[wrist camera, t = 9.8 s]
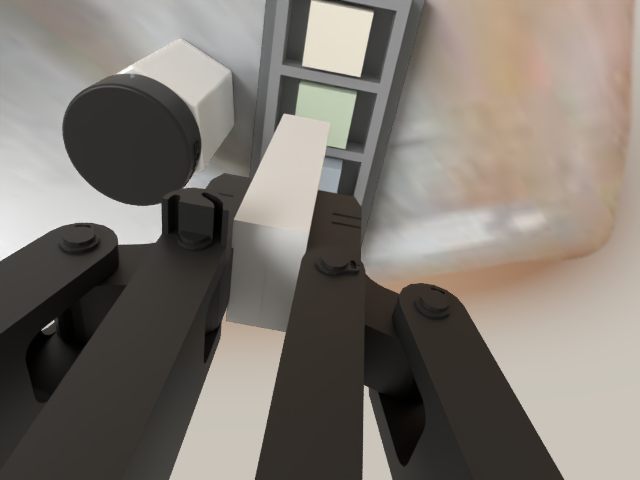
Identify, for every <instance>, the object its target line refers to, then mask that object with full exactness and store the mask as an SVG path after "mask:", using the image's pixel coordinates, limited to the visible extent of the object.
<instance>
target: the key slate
mask: <svg viewBox="0 0 640 480" xmlns="http://www.w3.org/2000/svg"><path fill="white" fill-rule="evenodd" d="M342 161H343V160H342V159H336V158H331V157H326V156H325V158H324V163H323V169H322V174H321V179H320V185H319V190H322V191H327V192H333V193H337V189H338V184H339V179H340V175H341V170H342Z"/></svg>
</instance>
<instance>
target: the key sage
mask: <svg viewBox="0 0 640 480" xmlns="http://www.w3.org/2000/svg"><path fill="white" fill-rule="evenodd" d="M356 95H357V89H352V88H347V87H341V86H336V85H331V84H326V83H321V82H316V81H311V80H305V79H302V80H301V82H300V84H299V91H298V98H297V105H296V112H295V116H299V117H304V118H310V119H315V120H320V121H325V122H330V123H331V125H330V131H329V136H328V142H327V146H332V147H337V148H343V149H345V148H346V143H347V139H348V134H349V129H350V124H351V119H352V115H353V110H354V105H355V100H356Z"/></svg>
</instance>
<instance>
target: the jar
mask: <svg viewBox="0 0 640 480" xmlns="http://www.w3.org/2000/svg"><path fill="white" fill-rule="evenodd" d="M233 127H234V106H233V86H232V72H231V71H230V70H229V69H228V68H226V67H224V66H223V65H221V64H220V63H218V62H217V61H215V60H214V59H212V58H211V57H209V56H208V55H206V54H205V53H203V52H202V51H200V50H199V49H197V48H195V47H194V46H192V45H191V44H189V43H188V42H186V41H185V40H183V39H181V38H180V39H177V40H176V41H174V42H172V43H170V44H168V45H166V46H165V47H163V48H161V49H159V50H157V51H156V52H154V53H152V54H150V55H148V56H146V57H145V58H143V59H141V60H139V61H137V62H136V63H134V64H132V65H130V66H129V67H127V68H125V69H124V70H122V71H120V72H119V73H117V74H115V75H112V76H109V77H107V78H105V79H103V80H101V81H99V82H97V83H95V84H93V85H92V86H90V87H88V88H86V89H84V90H83V91H81V92H80V93H79V94H77V95H76V96H75V97H74V98H73V100H72V101H71V102H70V104H69V105H68V107H67V109H66V112H65V115H64V119H63V127H62V130H63V140H64V144H65V148H66V151H67V153H68V156H69V158H70V160H71V162H72V164H73V165H74V167H75V168H76V170H77V171H78V172H79V174H80V175H81V176H82V177H83V178H84V179H85V180H86V181H87V182H88V183H89V184H90V185H91V186H92V187H94V188H95V189H96V190H98V191H99V192H101V193H102V194H104V195H105V196H107V197H109V198H111V199H114V200H116V201H119V202H122V203H125V204H130V205H137V206H149V205H155V204H159V203H162V201H161V198H162V197H164V196H165V195H166V194H167V193H169V192H172V191H175V190H178V189H182V188H183V187H184V186H185V185H186V184H187V183H188V181H189V179H191V177H192V176H193V175H194V174H196V173H199V172H201V171H202V170H203V169H204V168H205V167H206V165H207V164H208V162H209V161H210V159H211V158H212V157H213V155H214V154H215V152H216V151H217V149H218V148H219V147H220V145H221V144H222V142H223V141H224V140H225V138H226V137H227V135H228V134H229V132H230V131H231V130H232V128H233Z"/></svg>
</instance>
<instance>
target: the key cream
mask: <svg viewBox="0 0 640 480" xmlns="http://www.w3.org/2000/svg"><path fill="white" fill-rule="evenodd" d="M373 14H374V10H373V9H371V8H366V7H360V6H355V5H350V4H345V3H340V2H335V1H330V0H311V6H310V13H309V20H308V27H307V34H306V41H305V48H304V55H303V63H302V66H305V67H310V68H315V69H321V70H326V71H331V72H336V73H341V74H346V75H352V76H357V77H360V76H361V71H362V67H363V62H364V57H365V52H366V47H367V43H368V38H369V33H370V28H371V24H372V19H373Z"/></svg>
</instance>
